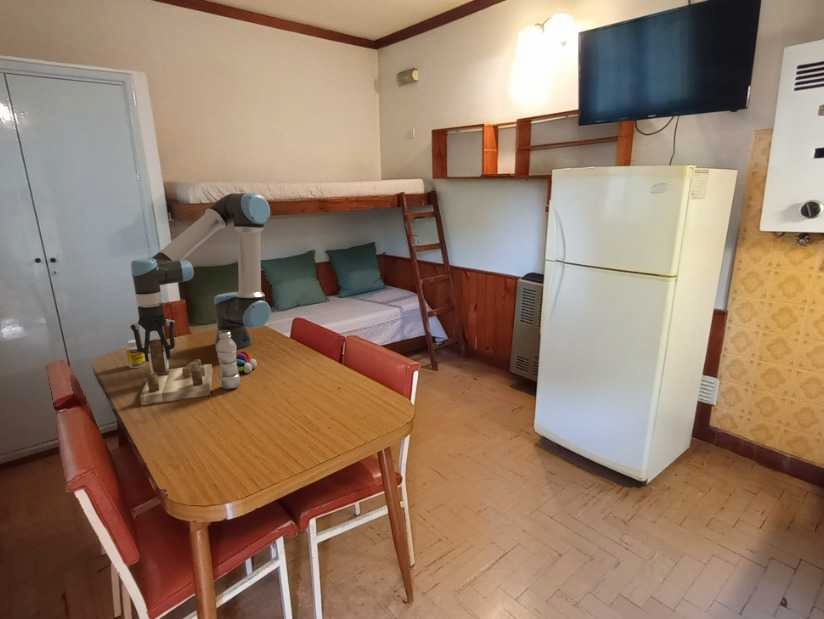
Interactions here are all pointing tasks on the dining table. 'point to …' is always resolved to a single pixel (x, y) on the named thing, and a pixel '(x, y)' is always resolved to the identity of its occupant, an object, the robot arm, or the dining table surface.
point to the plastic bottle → (227, 361)
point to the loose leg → (157, 355)
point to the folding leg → (191, 367)
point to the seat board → (176, 385)
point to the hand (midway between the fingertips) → (159, 368)
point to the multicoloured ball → (245, 362)
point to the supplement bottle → (134, 355)
